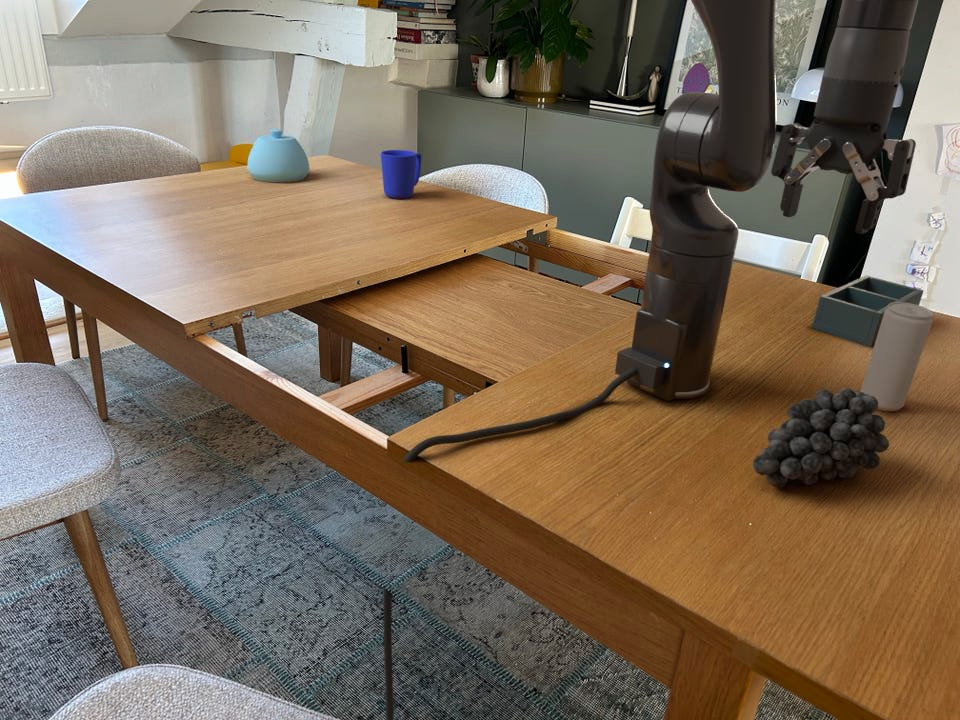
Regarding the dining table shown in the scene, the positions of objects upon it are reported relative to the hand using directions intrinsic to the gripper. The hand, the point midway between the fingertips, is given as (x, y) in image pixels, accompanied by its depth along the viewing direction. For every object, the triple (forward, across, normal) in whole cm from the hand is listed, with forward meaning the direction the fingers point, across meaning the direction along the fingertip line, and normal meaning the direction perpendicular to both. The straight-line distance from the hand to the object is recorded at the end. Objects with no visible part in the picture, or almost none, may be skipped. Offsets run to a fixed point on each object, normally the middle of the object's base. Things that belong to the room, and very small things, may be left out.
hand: (824, 223), depth 85 cm
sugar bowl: (+20, -137, +5) cm, 138 cm away
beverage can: (+20, +11, +1) cm, 23 cm away
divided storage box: (+20, -1, +26) cm, 33 cm away
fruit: (+19, +12, -21) cm, 31 cm away
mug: (+20, -105, +19) cm, 108 cm away
